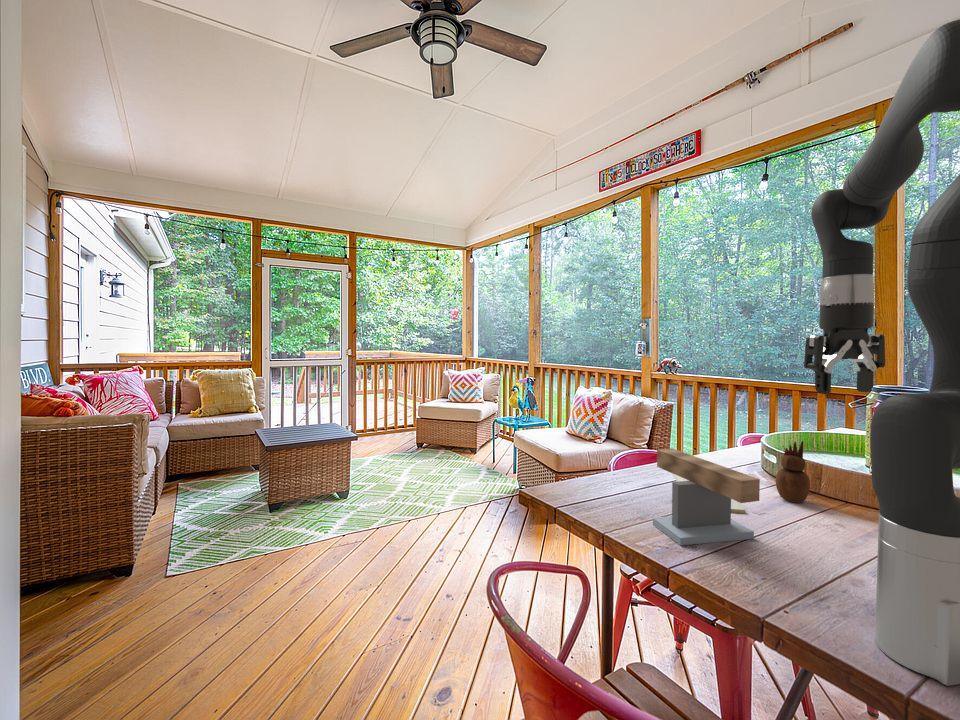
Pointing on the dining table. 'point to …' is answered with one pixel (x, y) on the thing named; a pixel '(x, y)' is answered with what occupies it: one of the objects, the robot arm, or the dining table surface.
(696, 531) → the fulcrum board
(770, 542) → the dining table surface
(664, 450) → the walnut bar
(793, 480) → the wooden figurine
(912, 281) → the robot arm
